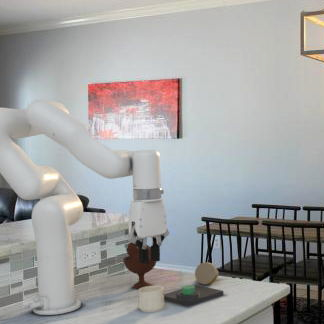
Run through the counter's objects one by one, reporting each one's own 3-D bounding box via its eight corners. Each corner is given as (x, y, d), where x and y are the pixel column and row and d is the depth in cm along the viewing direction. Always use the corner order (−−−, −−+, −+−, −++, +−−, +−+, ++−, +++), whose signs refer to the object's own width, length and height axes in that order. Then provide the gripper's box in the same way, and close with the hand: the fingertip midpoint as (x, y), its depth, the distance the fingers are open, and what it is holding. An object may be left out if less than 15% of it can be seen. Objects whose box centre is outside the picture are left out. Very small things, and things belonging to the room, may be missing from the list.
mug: (224, 278, 181) (224, 256, 176) (212, 298, 173) (212, 275, 168) (203, 272, 183) (203, 249, 178) (190, 291, 176) (190, 268, 170)
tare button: (187, 296, 151) (187, 289, 151) (179, 294, 153) (179, 287, 153) (197, 293, 154) (197, 286, 154) (188, 291, 156) (188, 284, 156)
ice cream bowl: (152, 291, 168) (150, 243, 167) (118, 290, 170) (116, 243, 169) (164, 282, 178) (162, 237, 178) (132, 282, 180) (130, 237, 180)
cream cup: (149, 314, 145) (148, 293, 145) (134, 309, 149) (133, 289, 149) (169, 307, 150) (168, 288, 150) (154, 303, 154) (153, 284, 154)
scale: (187, 308, 149) (187, 297, 149) (158, 300, 158) (158, 290, 157) (225, 295, 160) (225, 285, 160) (196, 289, 168) (195, 279, 168)
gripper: (162, 192, 157) (164, 255, 158) (113, 197, 145) (116, 265, 146) (179, 193, 152) (181, 258, 153) (130, 198, 140) (133, 269, 141)
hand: (149, 261), depth 149 cm, fingers open, 3 cm apart
